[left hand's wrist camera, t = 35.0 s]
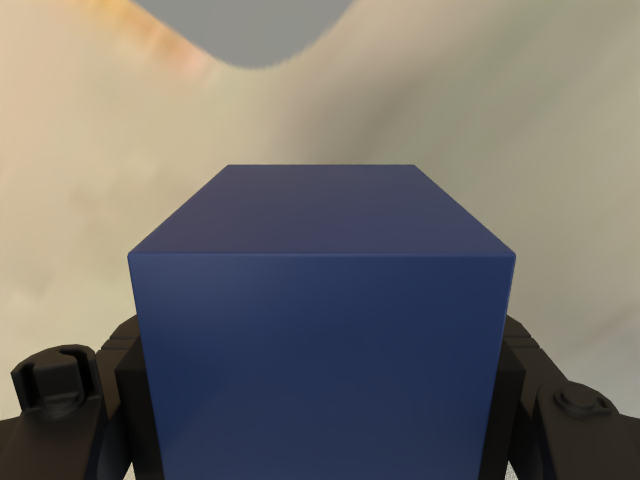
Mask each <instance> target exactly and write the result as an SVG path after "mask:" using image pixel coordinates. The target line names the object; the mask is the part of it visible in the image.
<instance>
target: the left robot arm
mask: <svg viewBox="0 0 640 480" xmlns="http://www.w3.org/2000/svg"><path fill="white" fill-rule="evenodd" d="M11 376H12V380H13V383H14V386H15V390H16V393H17V396H18V400H19V403H20V406H21V410H22V412H21V414H20V416H18V417H15V418H11V419H6V420H1V421H0V480H123V479H124V477H125V475H126V473H127V471H128V469H129V467H130V465H131V463H133V468H134V473H135V478H136V480H165V478H164V472H163V466H162V460H161V454H160V448H159V442H158V436H157V430H156V425H155V419H154V413H153V407H152V401H151V395H150V389H149V383H148V377H147V371H146V365H145V359H144V353H143V347H142V341H141V336H140V330H139V324H138V318H137V314H136V315H135V316H133V317H131V318H130V319H128V320H127V321H125V322H123V323H122V324H120V325H119V326H118V328H117V329H116V330H115V331H114V332H113V334H112V335H111V336H110V339H109V340H107V341H106V342H105V343H104V345H103V346H102V347H101V350H99V351H98V352H97V353H96V354H95V351H93V350H92V349H91V348H89V347H88V346H83V345H78V344H73V345H61V346H57V347H53V348H49V349H46V350H43V351H41V352H38V353H36V354H33V355H31V356H30V357H28V358H27V359H25V360H24V361H22V362H20V363H19V364H18V365H17V366H16V367H15V368H14V369H13V370H12V372H11ZM508 460H509V462H510V464H511V466H512V468H513V470H514V472H515V474H516V476H517V478H518V480H640V419H638V418H634V417H629V416H625V415H622V414H619V412H618V410H617V409H616V407H615V406H614V405H613V403H612V402H611V401H610V400H609V399H607V398H606V397H605V396H603V395H602V394H601V393H599V392H598V391H596V390H594V389H592V388H590V387H588V386H585V385H583V384H579V383H576V382H572V381H568V379H567V378H566V377H565V376H564V375H563V373H562V372H561V371H560V370H559V369H558V367H557V366H556V365H555V364H554V363H553V361H552V360H551V359H550V358H549V357H548V355H547V354H546V353H545V352H544V351H543V349H542V348H540V347H539V345H538V343H537V342H536V341H535V340H534V339H533V338H531V335H530V334H529V333H528V331H527V330H526V329H525V328H524V327H523V325H522V324H521V323H519V322H518V321H516V320H515V319H513V318H511V317H510V316H508V315H507V314H506V319H505V325H504V331H503V337H502V343H501V349H500V355H499V361H498V366H497V372H496V378H495V384H494V390H493V396H492V402H491V407H490V413H489V419H488V425H487V431H486V437H485V443H484V449H483V454H482V460H481V466H480V472H479V478H478V480H505V475H506V470H507V465H508Z"/></svg>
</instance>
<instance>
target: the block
mask: <svg viewBox="0 0 640 480" xmlns="http://www.w3.org/2000/svg"><path fill="white" fill-rule="evenodd" d="M127 258H128V264H129V270H130V276H131V282H132V288H133V294H134V300H135V306H136V312H137V318H138V324H139V330H140V336H141V341H142V347H143V353H144V359H145V365H146V371H147V377H148V383H149V389H150V395H151V401H152V407H153V413H154V419H155V425H156V430H157V436H158V442H159V448H160V454H161V460H162V466H163V472H164V478H165V480H478V478H479V472H480V466H481V460H482V454H483V449H484V443H485V437H486V431H487V425H488V419H489V413H490V407H491V402H492V396H493V390H494V384H495V378H496V372H497V366H498V361H499V355H500V349H501V343H502V337H503V331H504V325H505V319H506V314H507V308H508V302H509V296H510V290H511V284H512V278H513V272H514V267H515V261H516V255H515V253H514V252H513V251H512V250H511V249H510V248H509V247H508V246H506V245H505V244H504V243H503V242H502V241H501V240H500V239H498V238H497V237H496V236H495V235H494V234H493V233H492V232H490V231H489V230H488V229H487V228H486V227H485V226H484V225H482V224H481V223H480V222H479V221H478V220H477V219H476V218H474V217H473V216H472V215H471V214H470V213H469V212H468V211H466V210H465V209H464V208H463V207H462V206H461V205H460V204H458V203H457V202H456V201H455V200H454V199H453V198H452V197H450V196H449V195H448V194H447V193H446V192H445V191H443V190H442V189H441V188H440V187H439V186H438V185H437V184H435V183H434V182H433V181H432V180H431V179H430V178H429V177H427V176H426V175H425V174H424V173H423V172H422V171H421V170H419V169H418V168H417V167H416V166H415V165H227V166H226V167H225V168H224V169H223V170H221V171H220V172H219V173H218V174H217V175H216V176H215V177H214V178H212V179H211V180H210V181H209V182H208V183H207V184H206V185H205V186H203V187H202V188H201V189H200V190H199V191H198V192H197V193H196V194H194V195H193V196H192V197H191V198H190V199H189V200H188V201H187V202H185V203H184V204H183V205H182V206H181V207H180V208H179V209H178V210H176V211H175V212H174V213H173V214H172V215H171V216H170V217H169V218H167V219H166V220H165V221H164V222H163V223H162V224H161V225H160V226H158V227H157V228H156V229H155V230H154V231H153V232H152V233H150V234H149V235H148V236H147V237H146V238H145V239H144V240H143V241H141V242H140V243H139V244H138V245H137V246H136V247H135V248H134V249H132V250H131V251H130V252H129V253H128V256H127Z"/></svg>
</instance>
